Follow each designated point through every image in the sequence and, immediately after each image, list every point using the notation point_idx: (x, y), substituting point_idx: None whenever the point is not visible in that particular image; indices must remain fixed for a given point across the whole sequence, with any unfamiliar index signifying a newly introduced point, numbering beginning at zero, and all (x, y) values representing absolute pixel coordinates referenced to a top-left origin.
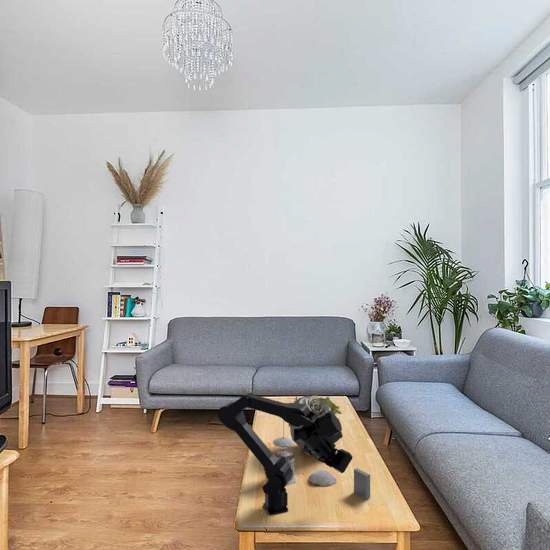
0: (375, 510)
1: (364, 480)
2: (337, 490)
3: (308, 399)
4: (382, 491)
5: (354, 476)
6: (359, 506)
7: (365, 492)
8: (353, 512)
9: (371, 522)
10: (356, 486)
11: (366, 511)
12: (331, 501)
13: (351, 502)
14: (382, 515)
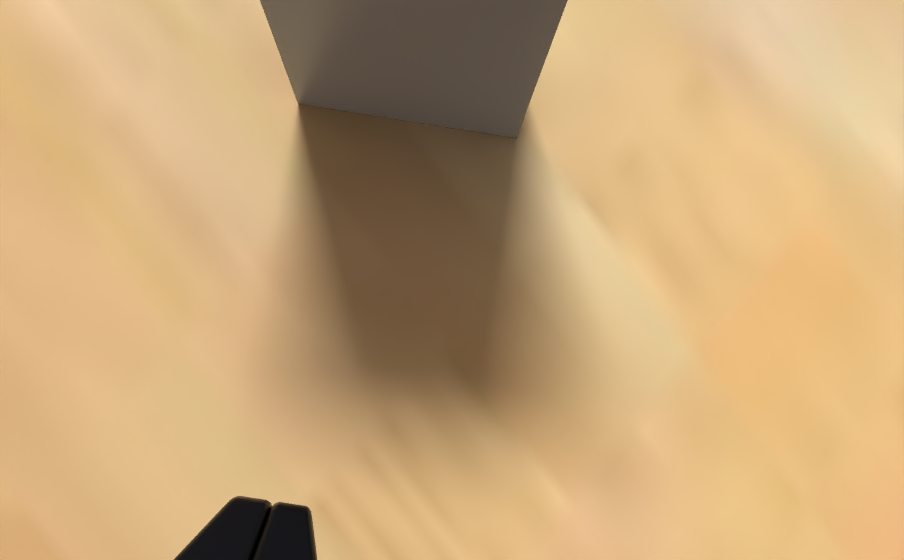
0: (736, 264)
1: (508, 29)
2: (113, 216)
3: None
4: None
5: (273, 1)
6: (556, 331)
7: (509, 105)
8: (596, 503)
9: (870, 520)
10: (335, 71)
11: (683, 362)
12: None
13: (430, 327)
14: (853, 295)
